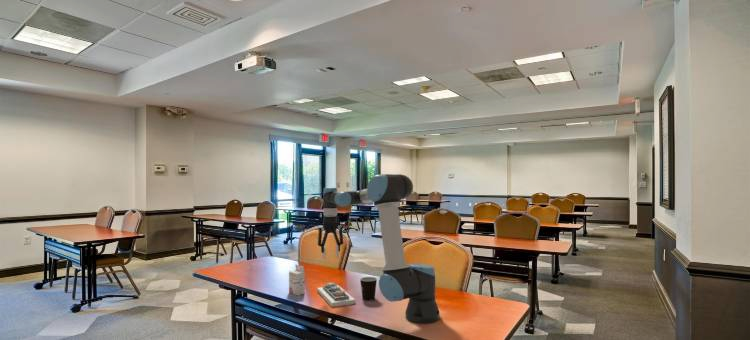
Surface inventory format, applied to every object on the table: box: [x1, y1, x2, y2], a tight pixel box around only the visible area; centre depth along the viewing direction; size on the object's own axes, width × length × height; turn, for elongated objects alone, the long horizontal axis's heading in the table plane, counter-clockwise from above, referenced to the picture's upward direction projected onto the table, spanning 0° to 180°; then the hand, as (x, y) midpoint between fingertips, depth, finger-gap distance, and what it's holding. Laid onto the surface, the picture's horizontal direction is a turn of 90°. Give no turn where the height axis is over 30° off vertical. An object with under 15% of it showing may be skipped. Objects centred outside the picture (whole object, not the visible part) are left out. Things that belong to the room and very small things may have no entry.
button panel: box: [316, 284, 356, 308], centre depth 200 cm, size 28×12×3 cm, turn 23°
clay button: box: [335, 289, 346, 296], centre depth 193 cm, size 5×5×2 cm
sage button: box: [325, 282, 337, 288], centre depth 207 cm, size 5×5×2 cm
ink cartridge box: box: [288, 264, 306, 296], centre depth 208 cm, size 9×5×15 cm, turn 47°
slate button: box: [330, 286, 341, 292], centre depth 200 cm, size 5×5×2 cm
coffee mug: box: [359, 276, 378, 301], centre depth 199 cm, size 12×9×10 cm
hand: (330, 258), depth 208 cm, fingers open, 6 cm apart
